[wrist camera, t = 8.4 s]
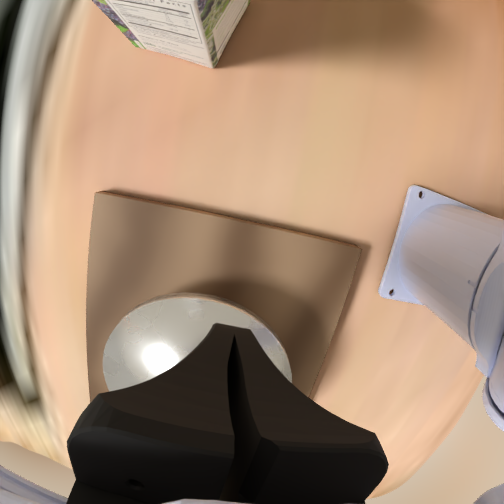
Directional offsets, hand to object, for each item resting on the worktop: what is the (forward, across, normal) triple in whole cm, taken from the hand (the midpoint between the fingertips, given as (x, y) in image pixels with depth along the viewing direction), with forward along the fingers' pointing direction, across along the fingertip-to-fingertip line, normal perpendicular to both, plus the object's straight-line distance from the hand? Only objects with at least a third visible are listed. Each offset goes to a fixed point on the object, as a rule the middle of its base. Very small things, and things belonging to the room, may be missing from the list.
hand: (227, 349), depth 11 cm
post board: (+10, +1, +7) cm, 12 cm away
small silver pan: (+9, +2, +9) cm, 13 cm away
